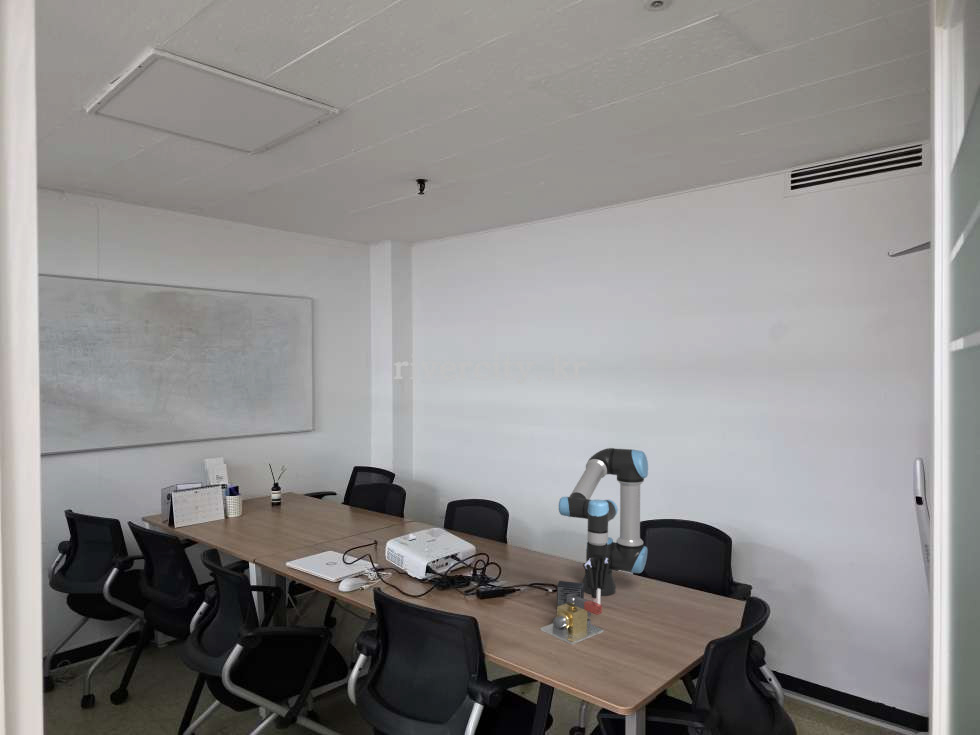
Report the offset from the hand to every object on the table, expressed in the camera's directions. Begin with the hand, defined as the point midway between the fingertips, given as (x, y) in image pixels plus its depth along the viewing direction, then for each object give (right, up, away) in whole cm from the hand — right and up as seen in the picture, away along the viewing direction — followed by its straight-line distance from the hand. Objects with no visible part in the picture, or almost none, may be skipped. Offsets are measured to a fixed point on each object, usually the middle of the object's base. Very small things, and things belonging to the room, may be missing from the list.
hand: (596, 606), depth 232 cm
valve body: (-8, -11, +5) cm, 15 cm away
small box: (-6, -12, +27) cm, 30 cm away
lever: (-5, -1, +1) cm, 5 cm away
